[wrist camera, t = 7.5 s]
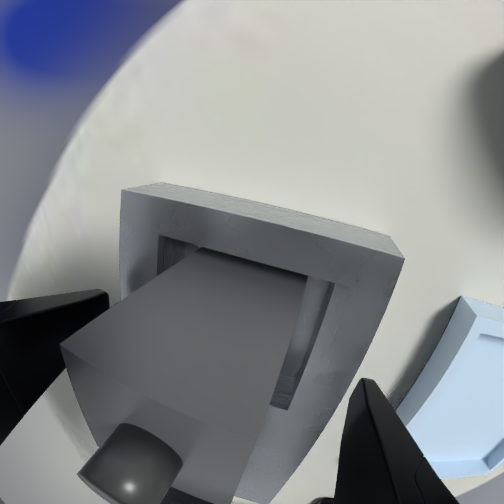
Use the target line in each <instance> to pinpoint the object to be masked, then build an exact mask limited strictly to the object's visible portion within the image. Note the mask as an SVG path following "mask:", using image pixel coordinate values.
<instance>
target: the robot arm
mask: <svg viewBox="0 0 504 504" xmlns="http://www.w3.org/2000/svg"><path fill="white" fill-rule="evenodd" d="M108 309H110V307H109V296H108V293H107V292H105V291H103V290H100V289H94V290H87V291H80V292H73V293H66V294H58V295H51V296H44V297H36V298H29V299H21V300H13V301H5V302H0V445H1V444H2V443H3V442H4V440H5V439H6V438H7V436H8V435H9V434H10V433H11V431H12V430H13V429H14V428H15V426H16V425H17V424H18V423H19V422H20V420H21V419H22V418H23V417H24V415H25V414H26V413H27V412H28V410H29V409H30V408H31V407H32V406H33V405H34V403H35V402H36V401H37V400H38V399H39V398H40V396H41V395H42V394H43V393H44V392H45V391H46V389H47V388H48V387H49V386H50V385H51V384H52V383H53V382H54V380H55V379H56V378H57V377H58V376H59V375H60V374H61V373H62V371H63V370H64V369H65V368H66V365H65V362H64V359H63V355H62V352H61V348H60V345H59V344H60V343H62V342H63V341H64V340H66V339H67V338H69V337H70V336H71V335H73V334H74V333H75V332H77V331H78V330H80V329H81V328H82V327H84V326H85V325H87V324H88V323H90V322H91V321H92V320H94V319H95V318H97V317H98V316H100V315H101V314H102V313H104V312H105V311H107V310H108ZM0 504H5V503H4V502H3V501H2V499H1V498H0ZM316 504H459V502H458V501H457V500H456V499H455V497H454V496H453V495H452V494H451V492H450V491H449V490H448V489H447V487H446V486H445V485H444V483H443V482H442V481H441V479H440V478H439V477H438V475H437V474H436V472H435V471H434V469H433V468H432V466H431V465H430V463H429V462H428V460H427V459H426V457H424V454H423V453H422V451H421V450H420V448H419V446H418V445H417V443H416V442H415V440H414V439H413V437H412V436H411V434H410V433H409V431H408V430H407V428H406V427H405V425H404V424H403V422H402V421H401V419H400V418H399V416H398V415H397V413H396V412H395V410H394V409H393V407H392V406H391V404H390V403H389V401H388V400H387V398H386V397H385V395H384V394H383V392H382V391H381V389H380V388H379V387H378V385H377V384H376V382H375V381H374V380H372V379H367V378H361V379H360V380H359V382H358V384H357V386H356V387H355V389H354V391H353V393H352V394H351V397H350V399H349V404H348V409H347V415H346V420H345V425H344V430H343V434H342V439H341V446H340V455H339V465H338V473H337V481H336V488H335V495H334V500H332V499H322V500H320V501H319V502H317V503H316Z"/></svg>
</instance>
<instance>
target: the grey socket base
mask: <svg viewBox="0 0 504 504" xmlns="http://www.w3.org/2000/svg"><path fill="white" fill-rule="evenodd" d="M201 247H205V248H209V249H213V250H216V251H220V252H223V253H227V254H231V255H234V256H238V257H242V258H245V259H249V260H253V261H256V262H260V263H264V264H267V265H271V266H275V267H278V268H282V269H286V270H289V271H293V272H297V273H301V274H304V275H308V279H307V283H306V287H305V290H304V294H303V298H302V301H301V305H300V308H299V312H298V315H297V319H296V322H295V326H294V329H293V333H292V336H291V339H290V342H289V346H288V349H287V352H286V355H285V359H284V362H283V365H282V368H281V371H280V374H279V377H278V380H277V383H276V386H275V389H274V392H273V395H272V398H271V401H270V404H269V407H268V410H267V413H266V416H265V418H264V421H263V424H262V427H261V429H260V432H259V435H258V438H257V440H256V443H255V445H254V448H253V451H252V453H251V456H250V458H249V461H248V463H247V466H246V468H245V471H244V473H243V476H242V478H241V480H240V483H239V485H238V488H237V490H236V492H235V495H234V496H236V497H240V498H243V499H246V500H250V501H254V502H257V503H261V504H269V503H270V502H271V501H272V499H273V498H274V497H275V496H276V494H277V493H278V492H279V491H280V490H281V488H282V487H283V486H284V485H285V483H286V482H287V481H288V479H289V478H290V477H291V476H292V474H293V473H294V472H295V470H296V469H297V467H298V466H299V465H300V463H301V462H302V461H303V459H304V458H305V456H306V455H307V454H308V452H309V451H310V449H311V448H312V446H313V445H314V443H315V442H316V440H317V439H318V437H319V436H320V434H321V433H322V431H323V430H324V428H325V426H326V425H327V423H328V422H329V420H330V418H331V417H332V415H333V413H334V412H335V410H336V408H337V407H338V405H339V403H340V402H341V400H342V398H343V396H344V395H345V393H346V391H347V389H348V387H349V386H350V384H351V382H352V380H353V378H354V376H355V374H356V372H357V370H358V369H359V367H360V365H361V363H362V361H363V359H364V357H365V355H366V353H367V350H368V348H369V346H370V344H371V342H372V340H373V338H374V336H375V333H376V331H377V329H378V327H379V324H380V322H381V320H382V317H383V315H384V313H385V310H386V308H387V305H388V303H389V301H390V298H391V296H392V293H393V290H394V288H395V285H396V282H397V280H398V277H399V274H400V271H401V269H402V266H403V263H404V260H405V258H404V256H403V255H402V253H401V252H400V251H399V249H398V248H397V246H396V245H395V243H394V242H393V241H392V239H391V238H390V236H387V235H383V234H380V233H376V232H373V231H369V230H366V229H362V228H359V227H355V226H351V225H348V224H344V223H340V222H336V221H333V220H329V219H325V218H321V217H317V216H313V215H309V214H305V213H301V212H297V211H293V210H289V209H285V208H280V207H276V206H272V205H268V204H263V203H259V202H254V201H250V200H245V199H241V198H236V197H232V196H227V195H222V194H217V193H212V192H208V191H203V190H197V189H192V188H187V187H182V186H177V185H171V184H166V183H156V184H150V185H145V186H139V187H133V188H128V189H123V190H122V192H121V209H120V242H119V263H120V295H121V300H123V299H124V298H126V297H127V296H129V295H130V294H131V293H133V292H134V291H136V290H137V289H139V288H140V287H142V286H143V285H145V284H146V283H148V282H149V281H151V280H152V279H154V278H155V277H157V276H158V275H160V274H161V273H163V272H164V271H166V270H167V269H169V268H170V267H172V266H173V265H175V264H176V263H178V262H179V261H181V260H182V259H184V258H186V257H187V256H189V255H190V254H192V253H193V252H195V251H196V250H198V249H199V248H201ZM160 504H214V503H211V502H208V501H205V500H203V499H200V498H197V497H195V496H192V495H190V494H187V493H185V492H183V491H180V490H178V489H176V488H173V487H170V488H169V490H168V492H167V493H166V495H165V497H164V498H163V500H162V501H161V503H160Z"/></svg>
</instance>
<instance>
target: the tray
mask: <svg viewBox="0 0 504 504" xmlns="http://www.w3.org/2000/svg"><path fill="white" fill-rule="evenodd" d="M395 412H396V413H397V415H398V416H399V418H400V419H401V421H402V422H403V424H404V425H405V427H406V428H407V430H408V431H409V433H410V434H411V436H412V437H413V439H414V440H415V442H416V443H417V445H418V446H419V448H420V450H421V451H422V453H423V454H424V457H426V459H427V460H428V462H429V463H430V465H431V466H432V468H433V469H434V471H435V472H436V474H437V475H438V477H439V478H440V479H441V480H445V479H457V478H466V477H474V476H481V475H487V474H490V473H491V472H493V471H494V470H495V469H496V468H497V467H498V466H499V465H501V464H502V463H503V462H504V308H502V307H499V306H495V305H492V304H488V303H485V302H481V301H478V300H474V299H471V298H468V297H464V296H461V298H460V300H459V302H458V305H457V307H456V309H455V311H454V313H453V315H452V318H451V320H450V322H449V324H448V326H447V328H446V330H445V332H444V334H443V335H442V337H441V339H440V341H439V343H438V345H437V347H436V348H435V350H434V352H433V354H432V356H431V357H430V359H429V361H428V362H427V364H426V366H425V367H424V369H423V371H422V372H421V374H420V375H419V377H418V379H417V380H416V382H415V383H414V385H413V386H412V388H411V389H410V391H409V392H408V394H407V395H406V397H405V398H404V400H403V401H402V402H401V404H400V405H399V407H398V408H397V409H396V411H395Z"/></svg>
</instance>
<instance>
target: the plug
mask: <svg viewBox="0 0 504 504" xmlns="http://www.w3.org/2000/svg"><path fill="white" fill-rule="evenodd" d="M307 279H308V275H304V274H301V273H297V272H293V271H289V270H286V269H282V268H278V267H275V266H271V265H267V264H264V263H260V262H256V261H253V260H249V259H245V258H242V257H238V256H234V255H231V254H227V253H223V252H220V251H216V250H213V249H209V248H205V247H201V248H199V249H198V250H196V251H195V252H193V253H192V254H190V255H189V256H187V257H186V258H184V259H182V260H181V261H179V262H178V263H176V264H175V265H173V266H172V267H170V268H169V269H167V270H166V271H164V272H163V273H161V274H160V275H158V276H157V277H155V278H154V279H152V280H151V281H149V282H148V283H146V284H145V285H143V286H142V287H140V288H139V289H137V290H136V291H134V292H133V293H131V294H130V295H129V296H127V297H126V298H124V299H123V300H121V301H120V302H118V303H117V304H115V305H114V306H112V307H111V308H110V309H108V310H107V311H105V312H104V313H102V314H101V315H100V316H98V317H97V318H95V319H94V320H92V321H91V322H90V323H88V324H87V325H85V326H84V327H82V328H81V329H80V330H78V331H77V332H75V333H74V334H73V335H71V336H70V337H69V338H67V339H66V340H64V341H63V342H62V343H60V344H59V345H60V348H61V352H62V355H63V359H64V362H65V365H66V368H67V372H68V375H69V378H70V381H71V383H72V386H73V389H74V392H75V395H76V397H77V400H78V403H79V405H80V408H81V410H82V413H83V415H84V417H85V420H86V422H87V424H88V427H89V429H90V431H91V433H92V435H93V438H94V440H95V442H96V444H97V446H99V447H100V448H99V449H98V450H97V451H96V453H95V454H94V455H93V456H92V457H91V458H90V460H89V461H88V462H87V463H86V464H85V465H84V466H83V468H82V469H81V470H80V471H79V472H78V473H77V475H78V476H79V478H80V479H81V480H82V481H83V482H84V483H85V484H86V485H87V486H88V487H89V488H91V489H92V490H93V491H94V492H95V493H97V494H98V495H99V496H100V497H102V498H103V499H105V500H106V501H108V502H109V503H110V504H160V503H161V501H162V500H163V498H164V497H165V495H166V493H167V492H168V490H169V488H170V487H173V488H176V489H178V490H180V491H183V492H185V493H187V494H190V495H192V496H195V497H197V498H200V499H203V500H205V501H208V502H211V503H214V504H231V501H232V499H233V497H234V495H235V492H236V490H237V488H238V485H239V483H240V480H241V478H242V476H243V473H244V471H245V468H246V466H247V463H248V461H249V458H250V456H251V453H252V451H253V448H254V445H255V443H256V440H257V438H258V435H259V432H260V429H261V427H262V424H263V421H264V418H265V416H266V413H267V410H268V407H269V404H270V401H271V398H272V395H273V392H274V389H275V386H276V383H277V380H278V377H279V374H280V371H281V368H282V365H283V362H284V359H285V355H286V352H287V349H288V346H289V342H290V339H291V336H292V333H293V329H294V326H295V322H296V319H297V315H298V312H299V308H300V305H301V301H302V298H303V294H304V290H305V287H306V283H307Z"/></svg>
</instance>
